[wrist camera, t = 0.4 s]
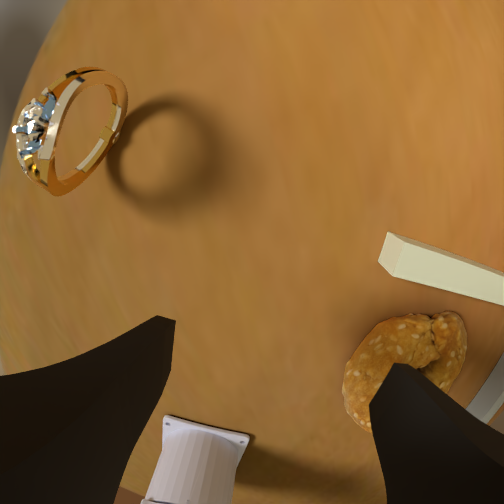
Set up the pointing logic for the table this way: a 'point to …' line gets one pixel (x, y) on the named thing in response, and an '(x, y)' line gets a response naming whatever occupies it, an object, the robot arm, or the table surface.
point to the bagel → (404, 357)
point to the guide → (455, 280)
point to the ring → (50, 123)
